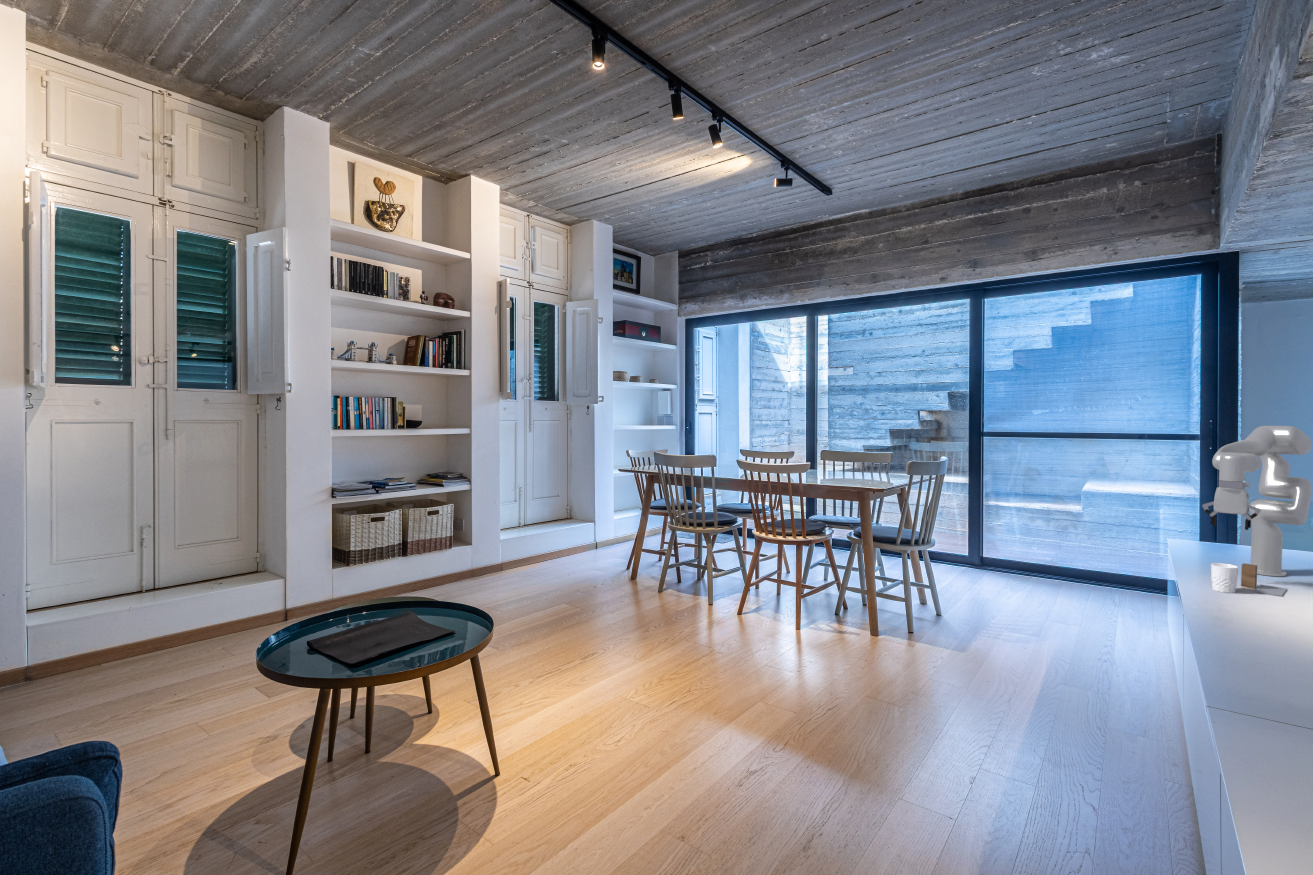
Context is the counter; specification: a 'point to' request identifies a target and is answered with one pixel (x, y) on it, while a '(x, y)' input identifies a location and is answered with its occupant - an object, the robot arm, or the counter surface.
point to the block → (1249, 576)
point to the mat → (1270, 590)
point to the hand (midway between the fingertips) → (1230, 527)
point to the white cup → (1224, 577)
